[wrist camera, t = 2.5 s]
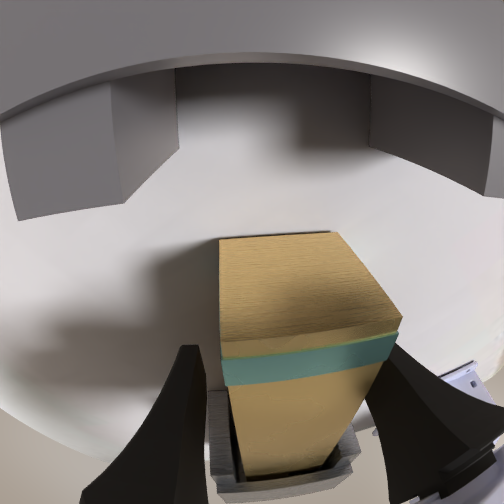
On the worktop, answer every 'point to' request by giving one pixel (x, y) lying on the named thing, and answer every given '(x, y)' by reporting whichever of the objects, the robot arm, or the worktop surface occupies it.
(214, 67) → the worktop surface
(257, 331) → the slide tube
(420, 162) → the socket
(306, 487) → the sleeve
